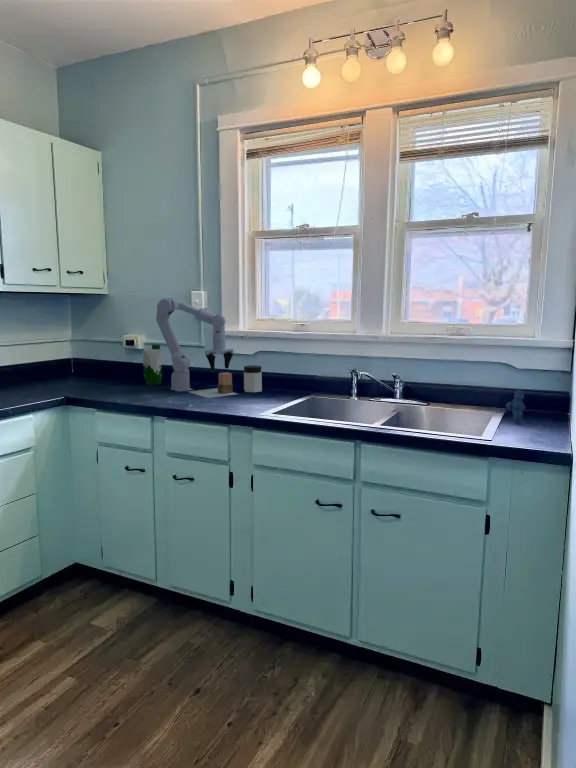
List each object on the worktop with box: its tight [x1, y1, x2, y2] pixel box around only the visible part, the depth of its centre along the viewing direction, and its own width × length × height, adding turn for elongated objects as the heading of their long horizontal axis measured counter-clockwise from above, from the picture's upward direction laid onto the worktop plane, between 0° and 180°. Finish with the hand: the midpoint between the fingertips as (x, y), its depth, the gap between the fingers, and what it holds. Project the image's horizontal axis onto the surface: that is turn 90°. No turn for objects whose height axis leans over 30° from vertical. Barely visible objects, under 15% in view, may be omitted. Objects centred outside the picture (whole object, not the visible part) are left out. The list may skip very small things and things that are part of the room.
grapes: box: [505, 388, 526, 425], centre depth 191 cm, size 12×7×12 cm, turn 156°
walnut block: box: [217, 383, 234, 394], centre depth 250 cm, size 5×5×4 cm
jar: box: [243, 364, 263, 393], centre depth 254 cm, size 9×8×12 cm
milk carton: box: [142, 344, 163, 386], centre depth 277 cm, size 9×9×20 cm
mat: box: [187, 387, 238, 399], centre depth 250 cm, size 20×16×1 cm
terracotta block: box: [217, 372, 233, 385], centre depth 249 cm, size 4×4×5 cm
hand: (219, 369), depth 256 cm, fingers open, 7 cm apart
